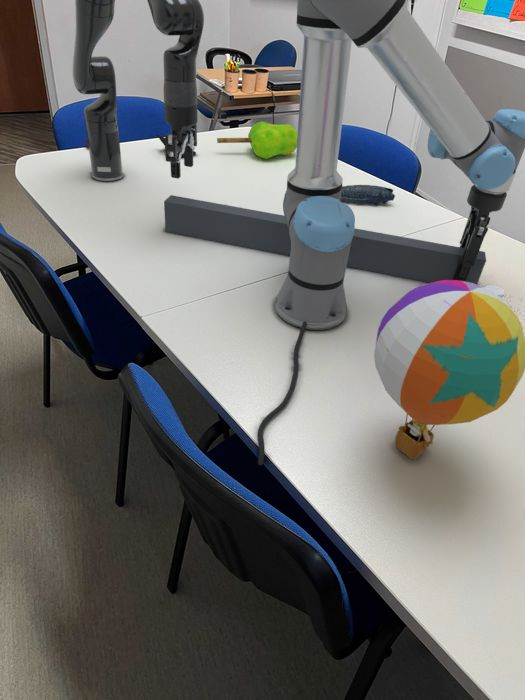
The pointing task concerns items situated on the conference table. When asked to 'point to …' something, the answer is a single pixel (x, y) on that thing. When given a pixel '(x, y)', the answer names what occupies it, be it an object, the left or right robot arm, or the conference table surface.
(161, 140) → the handheld gaming console
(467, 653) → the conference table surface
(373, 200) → the fish model
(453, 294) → the toy
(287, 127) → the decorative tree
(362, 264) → the bar
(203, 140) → the conference table surface
